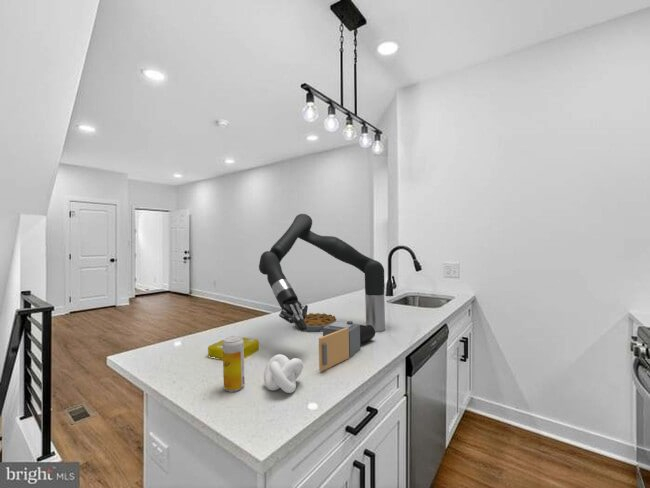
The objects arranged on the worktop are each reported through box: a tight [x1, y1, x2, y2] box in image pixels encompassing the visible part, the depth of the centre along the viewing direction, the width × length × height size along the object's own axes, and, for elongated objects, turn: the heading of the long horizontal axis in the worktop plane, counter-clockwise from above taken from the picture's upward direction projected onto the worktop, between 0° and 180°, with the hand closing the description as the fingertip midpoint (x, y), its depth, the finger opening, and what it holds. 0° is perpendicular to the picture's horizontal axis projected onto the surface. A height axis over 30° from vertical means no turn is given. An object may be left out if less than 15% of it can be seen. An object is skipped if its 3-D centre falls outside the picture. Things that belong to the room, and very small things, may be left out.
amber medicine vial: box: [222, 335, 246, 393], centre depth 93 cm, size 6×6×15 cm
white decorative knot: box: [263, 354, 304, 394], centre depth 91 cm, size 11×12×9 cm
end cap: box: [360, 324, 376, 345], centre depth 131 cm, size 10×7×7 cm
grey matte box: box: [322, 320, 361, 359], centre depth 121 cm, size 10×12×11 cm
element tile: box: [207, 335, 260, 360], centre depth 122 cm, size 15×15×5 cm
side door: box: [318, 328, 350, 372], centre depth 107 cm, size 2×16×11 cm, turn 138°
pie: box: [294, 312, 337, 332], centre depth 157 cm, size 22×22×5 cm
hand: (304, 330), depth 113 cm, fingers closed
